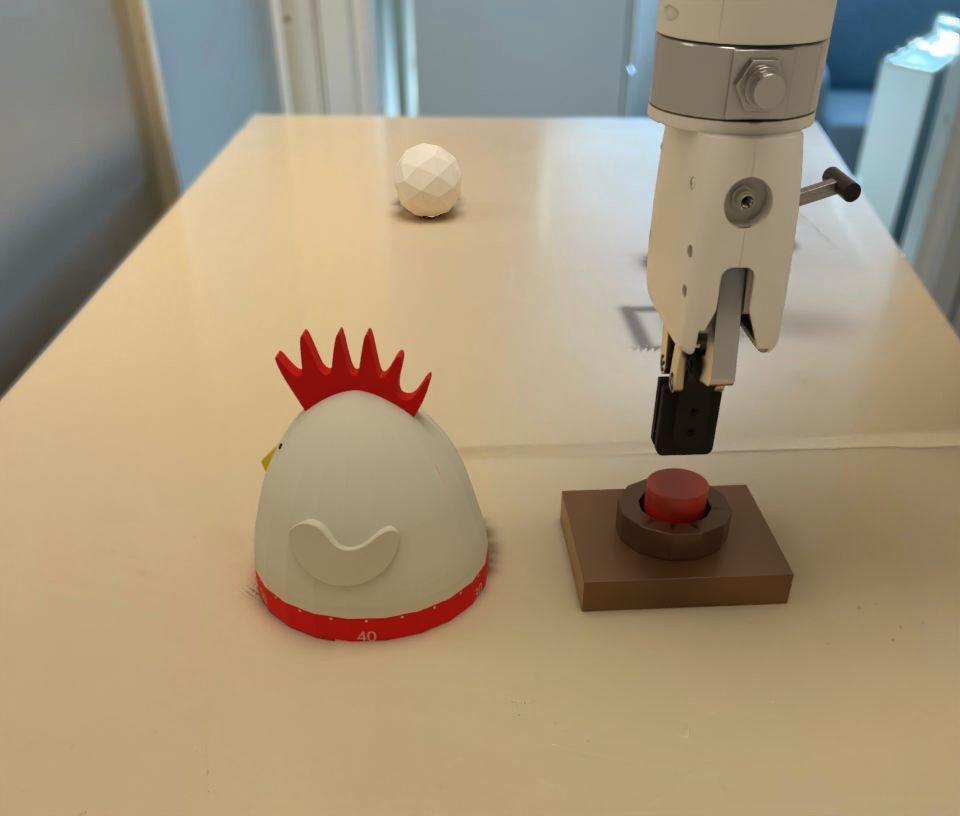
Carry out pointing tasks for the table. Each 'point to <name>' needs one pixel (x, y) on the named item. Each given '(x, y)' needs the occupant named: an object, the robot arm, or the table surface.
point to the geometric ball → (427, 180)
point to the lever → (831, 187)
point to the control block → (671, 552)
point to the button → (676, 495)
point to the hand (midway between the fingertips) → (680, 447)
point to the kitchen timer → (365, 506)
